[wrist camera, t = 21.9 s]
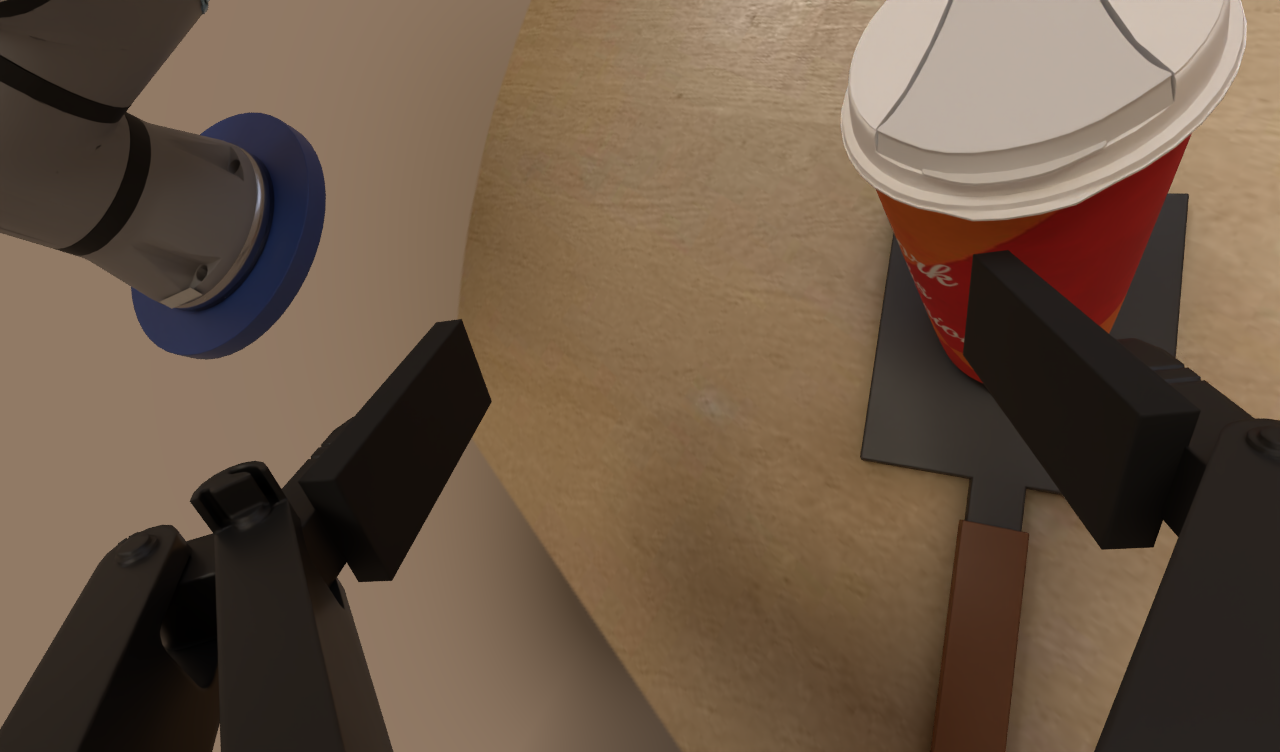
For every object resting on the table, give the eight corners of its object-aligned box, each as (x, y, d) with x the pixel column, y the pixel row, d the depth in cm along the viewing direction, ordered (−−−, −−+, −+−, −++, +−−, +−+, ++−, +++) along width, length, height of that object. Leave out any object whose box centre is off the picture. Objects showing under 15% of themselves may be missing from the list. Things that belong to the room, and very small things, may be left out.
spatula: (818, 749, 26) (814, 759, 25) (899, 199, 30) (899, 187, 29) (1126, 861, 22) (1138, 880, 21) (1181, 201, 25) (1194, 188, 24)
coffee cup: (920, 250, 29) (848, -40, 17) (1143, 231, 24) (1249, -178, 13) (903, 415, 26) (805, 204, 15) (1149, 429, 22) (1290, 140, 10)
